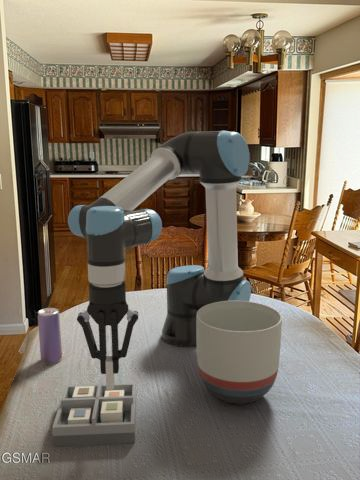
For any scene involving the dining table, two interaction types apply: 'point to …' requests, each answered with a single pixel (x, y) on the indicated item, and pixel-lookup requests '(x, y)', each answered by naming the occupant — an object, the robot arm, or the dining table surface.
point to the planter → (238, 349)
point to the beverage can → (49, 335)
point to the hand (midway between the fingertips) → (110, 386)
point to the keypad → (95, 417)
